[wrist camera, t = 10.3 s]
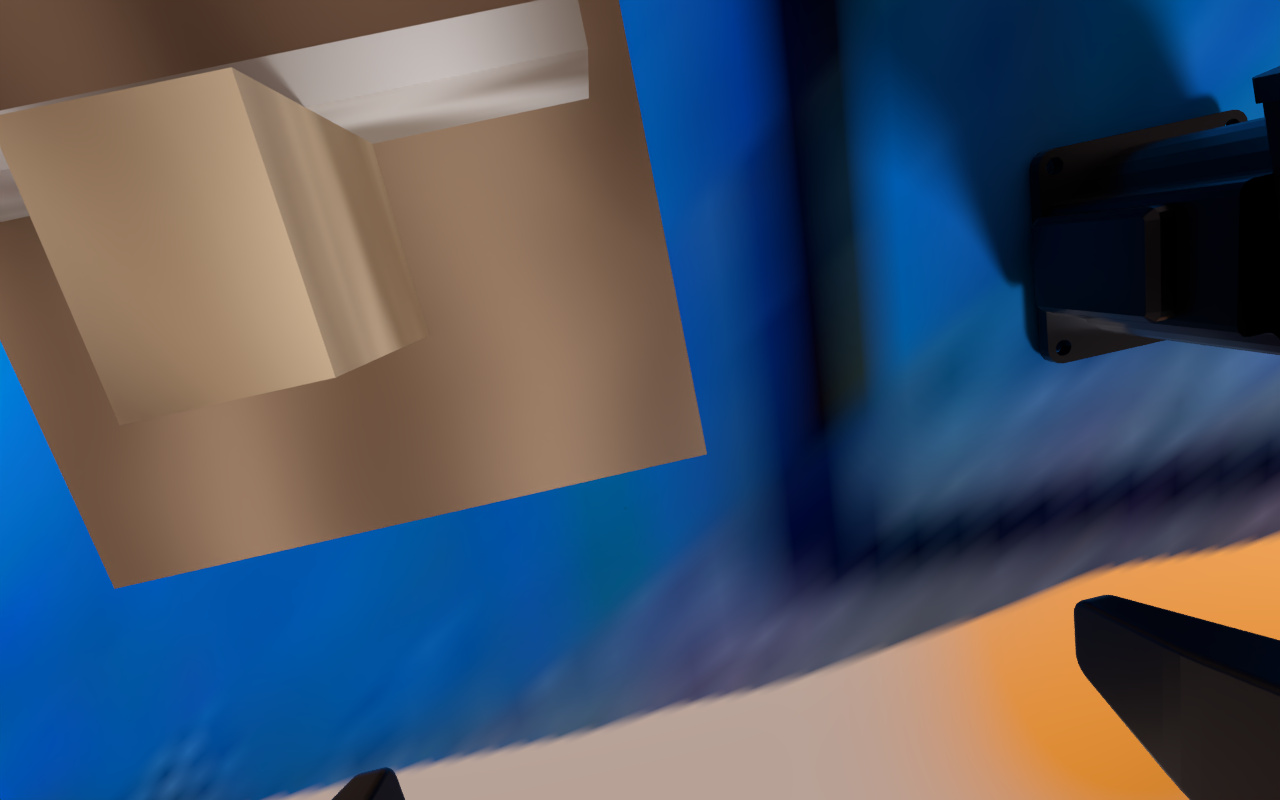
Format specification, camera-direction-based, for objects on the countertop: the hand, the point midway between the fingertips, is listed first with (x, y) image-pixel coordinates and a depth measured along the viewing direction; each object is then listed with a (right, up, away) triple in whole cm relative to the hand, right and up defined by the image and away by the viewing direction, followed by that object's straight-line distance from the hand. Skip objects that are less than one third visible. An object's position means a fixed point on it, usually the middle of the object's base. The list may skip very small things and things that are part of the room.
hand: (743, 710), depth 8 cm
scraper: (-8, +7, +5) cm, 12 cm away
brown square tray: (-8, +9, +10) cm, 16 cm away
